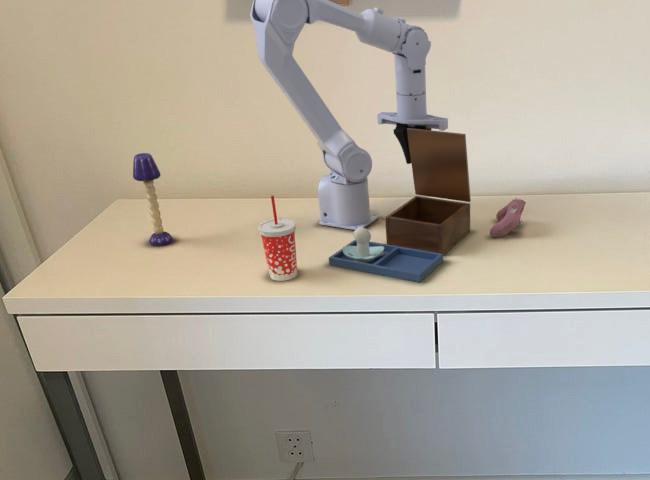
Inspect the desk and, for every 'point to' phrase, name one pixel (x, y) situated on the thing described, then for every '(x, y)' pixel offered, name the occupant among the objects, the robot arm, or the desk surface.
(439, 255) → the tray
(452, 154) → the chest lid
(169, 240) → the toy lamp
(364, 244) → the pacifier
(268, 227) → the beverage cup
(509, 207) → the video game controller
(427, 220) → the chest
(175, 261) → the desk surface
